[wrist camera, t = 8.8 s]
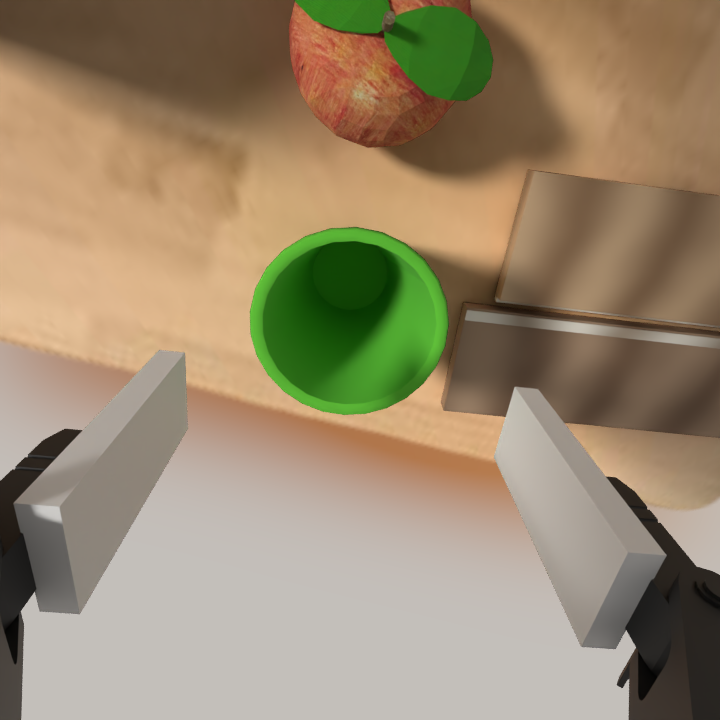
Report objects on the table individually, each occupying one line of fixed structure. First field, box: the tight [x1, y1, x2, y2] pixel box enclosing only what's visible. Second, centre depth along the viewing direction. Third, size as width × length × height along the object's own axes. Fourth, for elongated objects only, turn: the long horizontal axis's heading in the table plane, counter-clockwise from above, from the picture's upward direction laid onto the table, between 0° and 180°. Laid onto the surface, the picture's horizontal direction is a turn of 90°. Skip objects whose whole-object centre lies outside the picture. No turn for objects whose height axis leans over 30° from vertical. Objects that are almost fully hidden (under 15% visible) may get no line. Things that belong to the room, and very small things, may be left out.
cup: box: [250, 227, 449, 415], centre depth 26 cm, size 9×9×11 cm
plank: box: [494, 170, 720, 328], centre depth 30 cm, size 18×8×1 cm, turn 83°
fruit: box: [289, 0, 493, 147], centre depth 21 cm, size 9×10×10 cm
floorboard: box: [441, 302, 720, 438], centre depth 34 cm, size 22×8×1 cm, turn 83°
